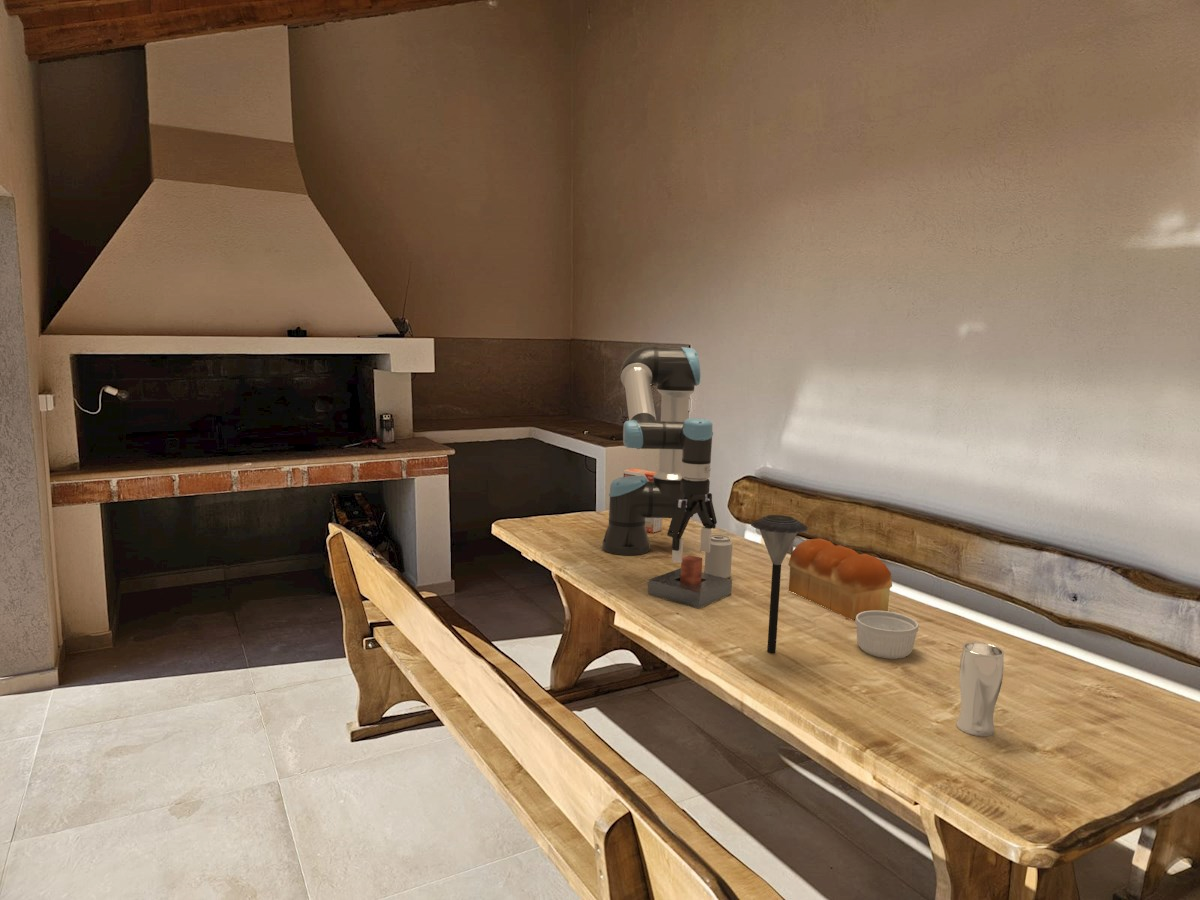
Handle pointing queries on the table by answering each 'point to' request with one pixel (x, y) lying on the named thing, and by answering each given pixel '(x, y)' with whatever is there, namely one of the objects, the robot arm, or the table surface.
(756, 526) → the solar garden light
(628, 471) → the cracker box
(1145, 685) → the table surface
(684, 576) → the peg
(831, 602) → the bread
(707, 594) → the socket block
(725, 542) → the can
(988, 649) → the beer glass
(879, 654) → the ramekin
